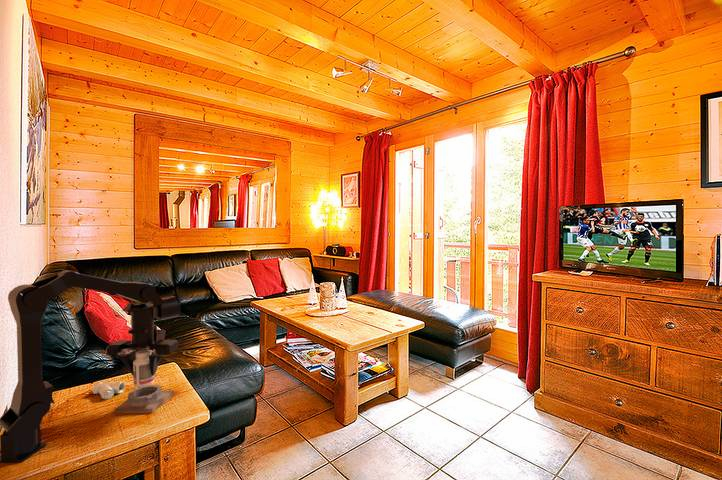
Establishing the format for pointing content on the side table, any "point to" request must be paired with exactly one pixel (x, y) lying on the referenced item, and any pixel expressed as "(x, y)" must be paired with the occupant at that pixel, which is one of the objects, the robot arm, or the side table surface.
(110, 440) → the side table surface
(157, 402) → the collar base
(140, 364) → the pill bottle
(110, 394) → the pipe fitting
